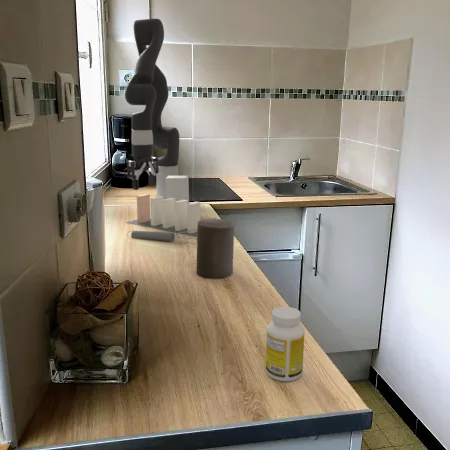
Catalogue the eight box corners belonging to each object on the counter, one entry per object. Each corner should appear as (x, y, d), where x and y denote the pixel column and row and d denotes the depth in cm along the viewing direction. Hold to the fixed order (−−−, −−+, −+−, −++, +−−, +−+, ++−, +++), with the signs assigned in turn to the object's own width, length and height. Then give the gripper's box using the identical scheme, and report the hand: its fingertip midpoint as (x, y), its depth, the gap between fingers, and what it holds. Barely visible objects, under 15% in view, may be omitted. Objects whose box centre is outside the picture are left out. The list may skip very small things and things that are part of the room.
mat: (143, 218, 186) (143, 217, 186) (212, 231, 169) (212, 230, 169) (125, 223, 178) (125, 222, 178) (195, 237, 161) (195, 236, 161)
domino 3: (171, 224, 175) (171, 197, 173) (175, 225, 175) (175, 198, 172) (162, 227, 171) (162, 199, 169) (166, 228, 170) (166, 200, 168)
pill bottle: (298, 363, 85) (302, 304, 82) (305, 382, 79) (309, 320, 76) (263, 363, 85) (265, 304, 82) (267, 383, 79) (270, 320, 76)
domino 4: (183, 227, 173) (183, 199, 170) (187, 227, 172) (187, 200, 169) (174, 230, 168) (174, 201, 166) (178, 230, 168) (178, 202, 165)
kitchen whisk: (132, 235, 163) (131, 217, 162) (226, 248, 152) (226, 228, 150) (122, 240, 158) (121, 221, 156) (219, 253, 146) (219, 233, 145)
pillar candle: (200, 280, 123) (202, 223, 119) (192, 267, 132) (193, 214, 128) (237, 277, 125) (239, 221, 122) (227, 265, 135) (229, 213, 131)
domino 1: (146, 220, 182) (146, 193, 179) (150, 220, 181) (149, 194, 178) (137, 222, 178) (136, 195, 175) (141, 223, 177) (140, 196, 174)
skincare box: (189, 214, 195) (189, 175, 191) (186, 217, 188) (186, 178, 184) (169, 213, 195) (168, 174, 192) (165, 216, 189) (165, 177, 185)
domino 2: (159, 222, 178) (159, 195, 176) (163, 223, 177) (163, 196, 175) (150, 225, 174) (150, 198, 172) (154, 226, 173) (154, 198, 171)
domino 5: (196, 229, 170) (196, 201, 167) (200, 230, 169) (200, 202, 166) (187, 232, 166) (187, 203, 163) (191, 233, 165) (191, 204, 162)
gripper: (147, 140, 180) (149, 183, 184) (120, 143, 168) (122, 189, 172) (163, 141, 176) (164, 185, 180) (136, 145, 164) (138, 192, 168)
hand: (143, 187), depth 176 cm, fingers open, 8 cm apart
